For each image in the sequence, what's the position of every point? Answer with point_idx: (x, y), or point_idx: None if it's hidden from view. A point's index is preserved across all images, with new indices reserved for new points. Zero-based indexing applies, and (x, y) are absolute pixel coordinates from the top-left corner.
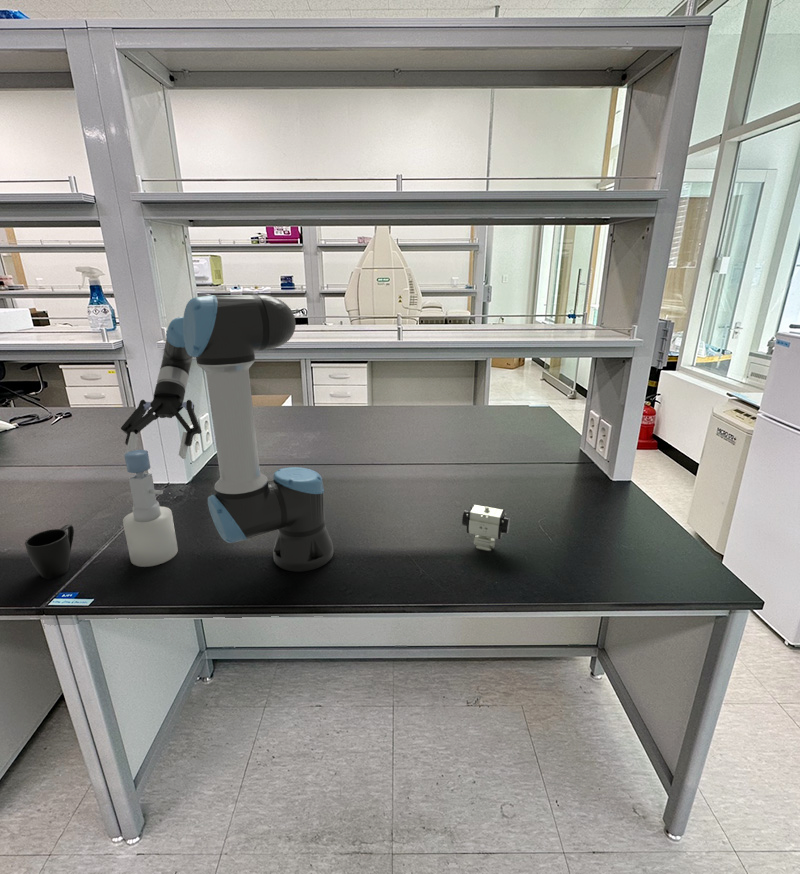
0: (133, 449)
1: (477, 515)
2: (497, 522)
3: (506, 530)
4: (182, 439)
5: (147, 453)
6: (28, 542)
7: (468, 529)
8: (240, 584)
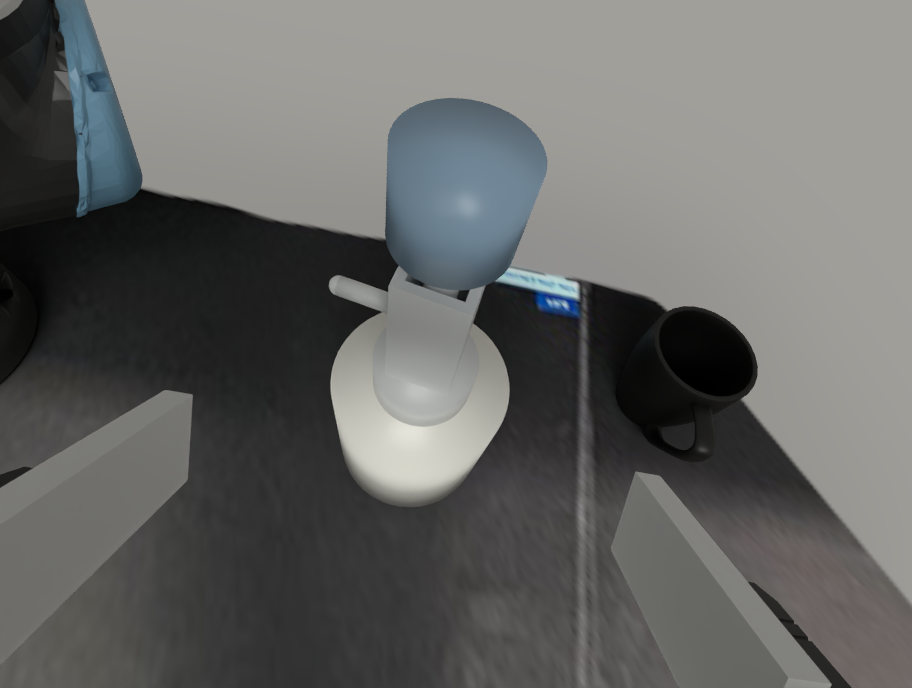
0: (649, 583)
1: None
2: None
3: None
4: (60, 472)
5: (388, 146)
6: (741, 349)
7: None
8: (161, 255)
